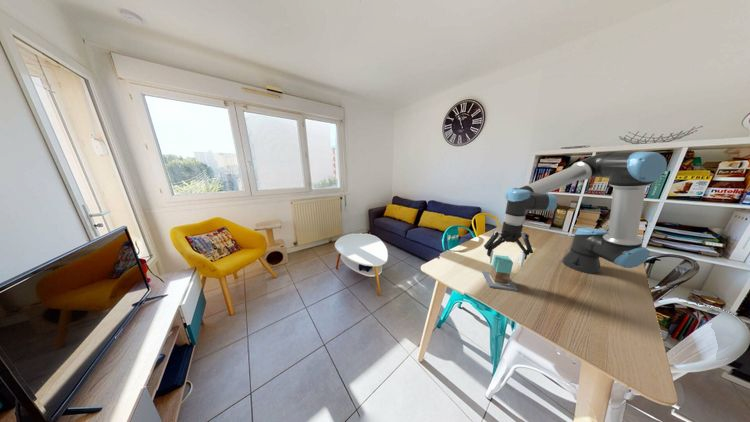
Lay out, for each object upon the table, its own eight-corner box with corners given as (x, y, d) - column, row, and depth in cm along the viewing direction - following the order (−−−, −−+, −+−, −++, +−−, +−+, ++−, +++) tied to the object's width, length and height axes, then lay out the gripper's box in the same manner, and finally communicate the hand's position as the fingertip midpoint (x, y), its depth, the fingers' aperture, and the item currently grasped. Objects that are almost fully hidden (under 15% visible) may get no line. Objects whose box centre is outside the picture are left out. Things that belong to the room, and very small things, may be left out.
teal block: (505, 266, 97) (507, 256, 95) (510, 273, 91) (513, 262, 89) (492, 265, 98) (494, 254, 96) (496, 271, 92) (499, 260, 91)
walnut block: (502, 276, 98) (505, 266, 97) (507, 284, 93) (510, 273, 91) (489, 275, 100) (492, 265, 98) (494, 282, 94) (496, 271, 92)
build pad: (506, 276, 101) (507, 274, 100) (517, 291, 90) (518, 289, 89) (482, 272, 103) (482, 271, 103) (489, 287, 92) (490, 285, 92)
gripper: (539, 222, 89) (529, 262, 95) (481, 218, 94) (475, 256, 100) (549, 227, 82) (538, 270, 88) (486, 223, 87) (479, 264, 93)
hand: (504, 263), depth 94 cm, fingers open, 13 cm apart
